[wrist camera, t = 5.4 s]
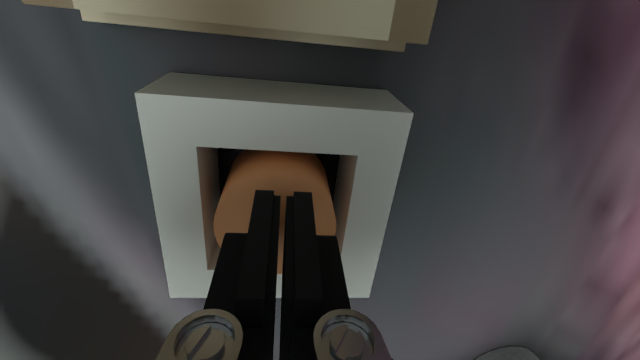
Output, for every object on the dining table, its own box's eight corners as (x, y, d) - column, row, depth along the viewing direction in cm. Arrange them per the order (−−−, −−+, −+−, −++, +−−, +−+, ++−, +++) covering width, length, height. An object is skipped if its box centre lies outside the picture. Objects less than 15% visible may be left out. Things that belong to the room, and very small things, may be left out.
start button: (332, 141, 12) (344, 179, 10) (321, 225, 14) (329, 274, 12) (226, 135, 12) (209, 172, 9) (230, 222, 14) (216, 273, 11)
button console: (387, 90, 12) (414, 113, 10) (355, 250, 16) (368, 297, 14) (169, 72, 11) (134, 92, 9) (190, 247, 15) (170, 297, 13)
